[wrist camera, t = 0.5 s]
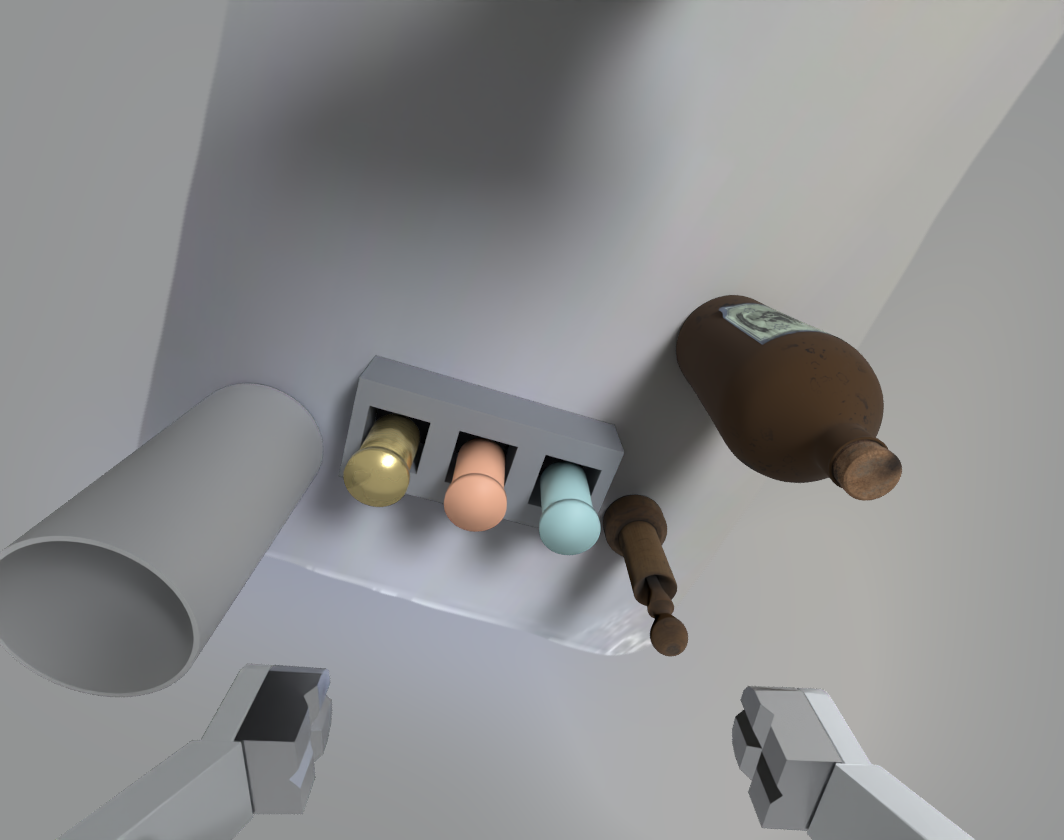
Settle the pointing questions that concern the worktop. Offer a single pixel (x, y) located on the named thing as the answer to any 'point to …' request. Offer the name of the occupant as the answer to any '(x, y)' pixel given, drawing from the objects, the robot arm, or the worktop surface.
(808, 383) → the olive oil
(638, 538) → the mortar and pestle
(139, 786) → the robot arm
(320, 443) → the cylinder vase
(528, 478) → the grey plug holder block
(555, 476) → the plug
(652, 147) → the worktop surface
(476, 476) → the plug
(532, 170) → the worktop surface
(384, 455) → the plug
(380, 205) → the worktop surface
